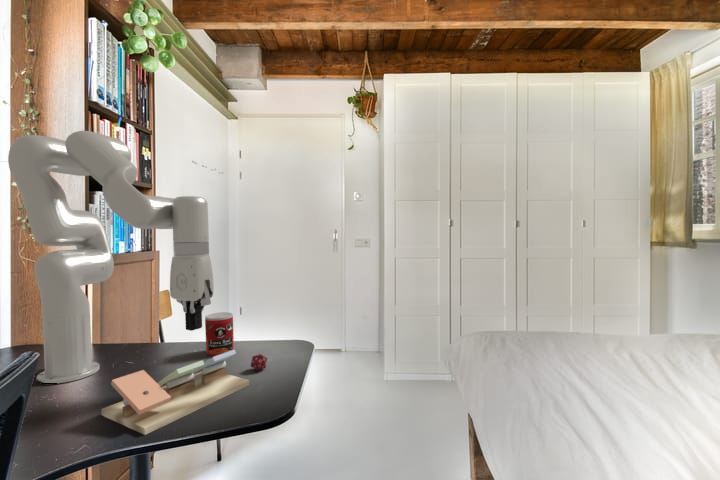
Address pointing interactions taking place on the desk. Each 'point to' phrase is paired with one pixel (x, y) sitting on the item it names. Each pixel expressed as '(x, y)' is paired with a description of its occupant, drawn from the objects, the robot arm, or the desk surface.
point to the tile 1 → (140, 391)
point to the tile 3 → (215, 363)
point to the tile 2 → (180, 375)
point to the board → (178, 401)
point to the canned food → (219, 333)
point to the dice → (258, 362)
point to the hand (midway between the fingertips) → (194, 328)
